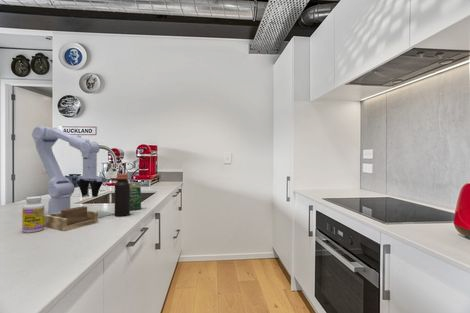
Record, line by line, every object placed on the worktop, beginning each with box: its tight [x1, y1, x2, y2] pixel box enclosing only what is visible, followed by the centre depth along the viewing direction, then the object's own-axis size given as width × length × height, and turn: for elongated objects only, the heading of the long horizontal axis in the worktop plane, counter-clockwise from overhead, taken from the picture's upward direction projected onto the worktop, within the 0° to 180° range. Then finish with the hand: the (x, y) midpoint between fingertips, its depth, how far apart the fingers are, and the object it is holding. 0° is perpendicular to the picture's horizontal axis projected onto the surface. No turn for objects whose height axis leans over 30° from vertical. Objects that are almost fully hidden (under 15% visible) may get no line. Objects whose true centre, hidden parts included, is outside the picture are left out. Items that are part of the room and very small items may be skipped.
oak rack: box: [44, 209, 99, 232], centre depth 109 cm, size 18×14×4 cm
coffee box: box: [130, 184, 142, 211], centre depth 137 cm, size 8×3×13 cm, turn 122°
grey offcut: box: [51, 212, 61, 217], centre depth 111 cm, size 4×7×2 cm, turn 157°
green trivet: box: [94, 210, 115, 219], centre depth 125 cm, size 12×12×1 cm
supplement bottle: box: [21, 195, 45, 234], centre depth 99 cm, size 7×7×13 cm
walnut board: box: [61, 205, 88, 226], centre depth 107 cm, size 3×9×7 cm, turn 154°
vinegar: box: [114, 173, 131, 217], centre depth 125 cm, size 7×7×20 cm
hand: (89, 196), depth 121 cm, fingers open, 7 cm apart
